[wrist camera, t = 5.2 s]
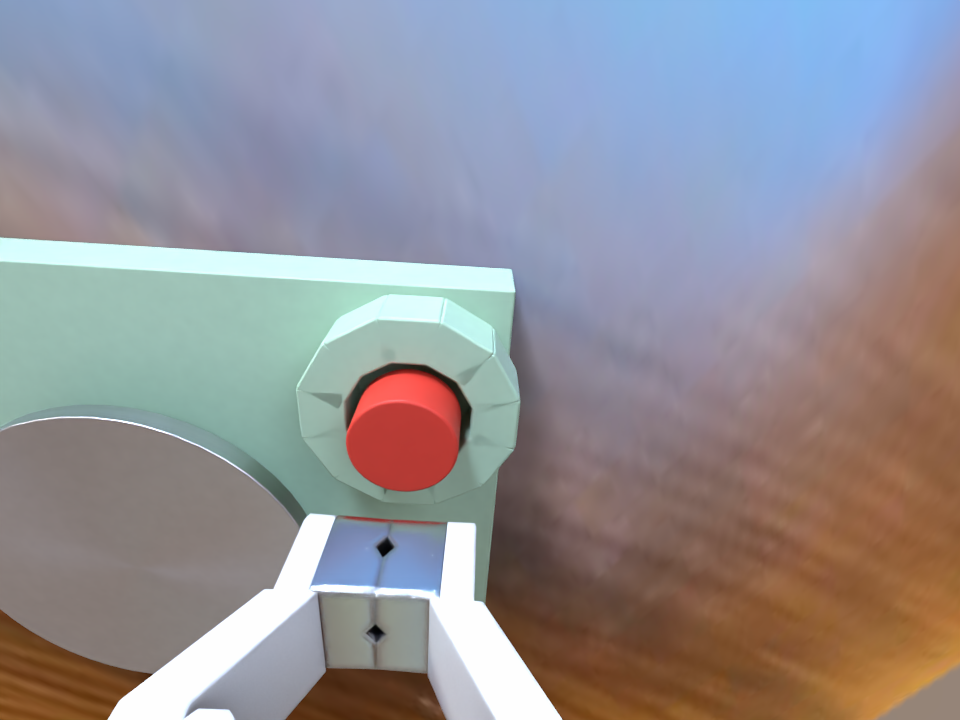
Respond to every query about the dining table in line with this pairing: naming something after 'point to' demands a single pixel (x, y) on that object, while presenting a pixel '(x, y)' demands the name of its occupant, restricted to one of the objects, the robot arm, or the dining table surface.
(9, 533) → the pan
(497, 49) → the dining table surface
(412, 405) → the tare button
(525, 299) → the dining table surface
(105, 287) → the scale
